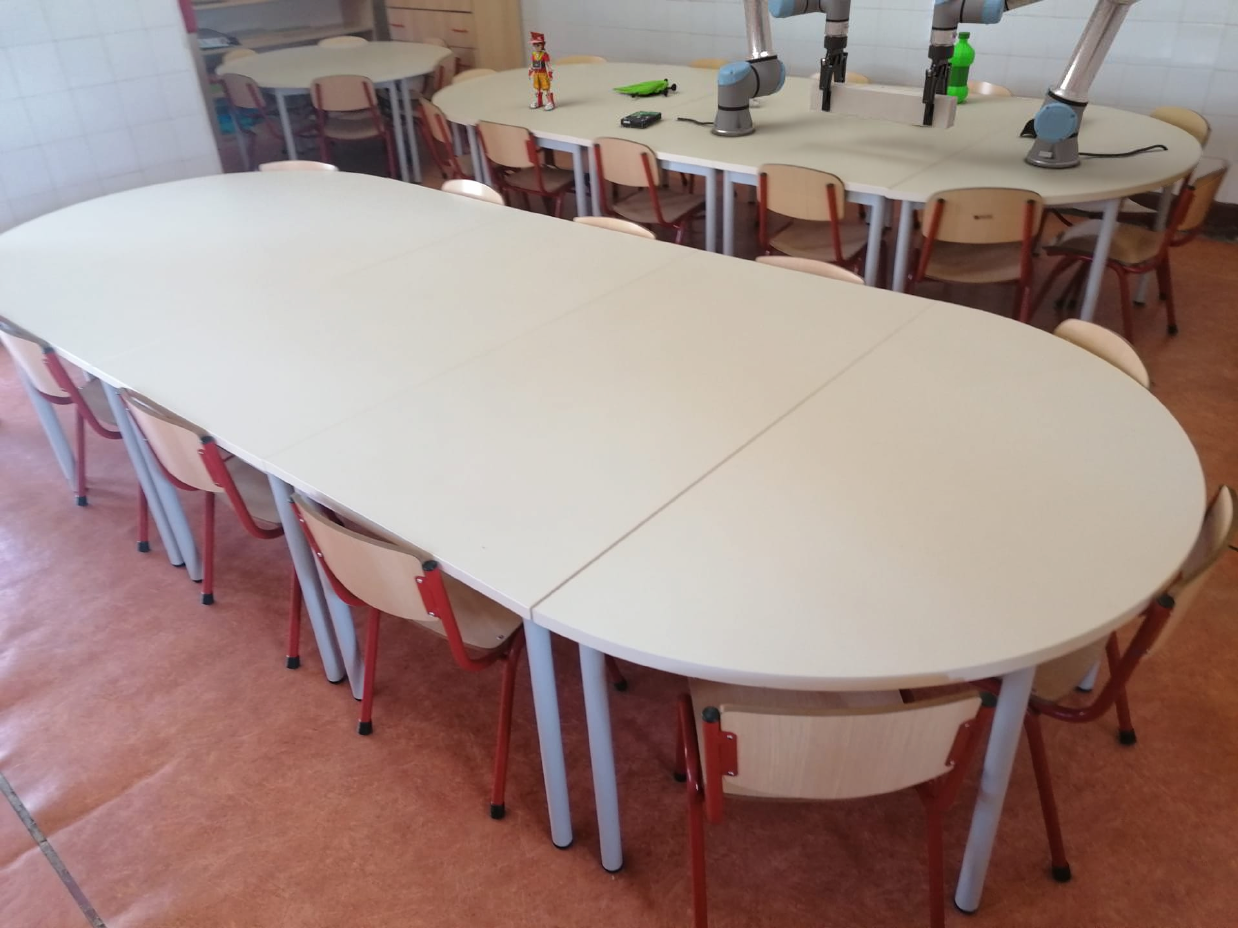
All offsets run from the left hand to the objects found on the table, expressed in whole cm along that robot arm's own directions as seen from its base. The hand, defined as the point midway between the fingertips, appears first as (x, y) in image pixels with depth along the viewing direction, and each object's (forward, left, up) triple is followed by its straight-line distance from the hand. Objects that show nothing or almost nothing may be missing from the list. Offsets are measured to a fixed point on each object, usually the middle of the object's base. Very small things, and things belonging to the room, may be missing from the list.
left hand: (830, 108), depth 308 cm
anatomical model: (-52, +45, -12) cm, 70 cm away
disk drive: (-78, +5, -12) cm, 79 cm away
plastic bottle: (+26, +73, -12) cm, 79 cm away
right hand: (+36, -8, 0) cm, 37 cm away
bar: (+18, -4, -1) cm, 19 cm away
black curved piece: (+66, +46, -12) cm, 81 cm away
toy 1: (-131, +13, -12) cm, 133 cm away
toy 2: (-104, +51, -12) cm, 117 cm away
